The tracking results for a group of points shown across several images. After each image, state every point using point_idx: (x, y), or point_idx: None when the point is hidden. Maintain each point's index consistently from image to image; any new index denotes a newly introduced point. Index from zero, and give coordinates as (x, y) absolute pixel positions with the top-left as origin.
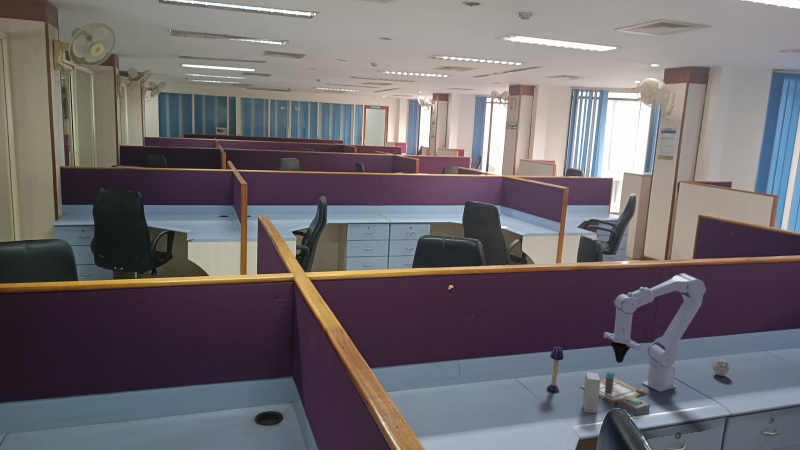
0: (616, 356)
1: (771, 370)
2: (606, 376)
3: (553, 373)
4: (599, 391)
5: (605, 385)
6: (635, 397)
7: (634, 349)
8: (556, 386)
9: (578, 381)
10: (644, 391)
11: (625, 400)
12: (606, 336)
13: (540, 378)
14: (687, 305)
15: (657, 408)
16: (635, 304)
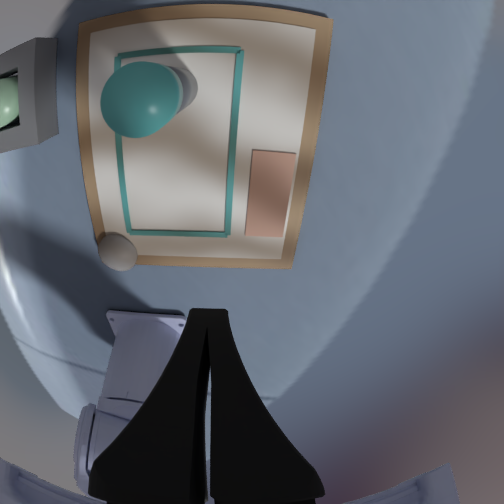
0: (218, 353)
1: None
2: (158, 63)
3: None
4: (210, 44)
5: (181, 70)
6: (23, 143)
7: (2, 461)
8: None
9: (380, 83)
10: (104, 261)
11: (19, 66)
12: (425, 493)
13: (475, 2)
14: None
15: (7, 196)
16: None
